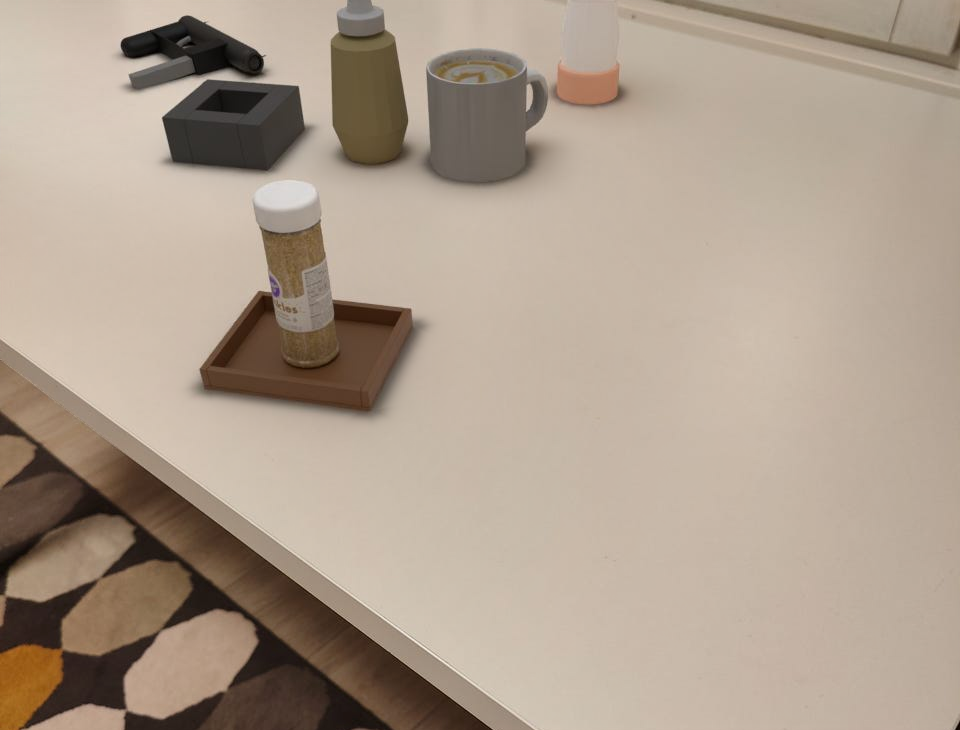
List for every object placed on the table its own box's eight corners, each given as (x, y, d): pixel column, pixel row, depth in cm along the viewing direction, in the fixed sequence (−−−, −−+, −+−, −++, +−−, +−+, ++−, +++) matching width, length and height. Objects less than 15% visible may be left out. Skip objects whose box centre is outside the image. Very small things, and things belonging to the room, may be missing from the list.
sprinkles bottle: (270, 356, 74) (237, 194, 65) (313, 330, 76) (287, 171, 67) (310, 378, 72) (282, 214, 62) (353, 350, 74) (332, 189, 65)
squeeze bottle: (419, 164, 100) (407, -23, 88) (343, 175, 98) (321, -14, 86) (401, 134, 106) (388, -45, 93) (330, 144, 104) (307, -37, 92)
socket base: (172, 163, 101) (161, 117, 98) (216, 123, 109) (207, 79, 105) (267, 172, 99) (259, 125, 96) (305, 130, 107) (298, 85, 103)
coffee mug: (450, 191, 95) (446, 90, 88) (418, 152, 102) (412, 56, 95) (570, 167, 99) (575, 69, 92) (531, 132, 105) (534, 38, 99)
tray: (204, 390, 72) (198, 369, 70) (262, 311, 80) (258, 290, 78) (370, 413, 69) (367, 391, 68) (413, 329, 77) (411, 308, 76)
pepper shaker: (628, 100, 112) (644, -85, 99) (571, 109, 110) (580, -77, 97) (601, 79, 117) (613, -99, 104) (547, 88, 115) (552, -93, 102)
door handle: (152, 84, 111) (270, 45, 118) (86, 42, 123) (197, 8, 129) (160, 112, 114) (276, 72, 120) (95, 68, 125) (204, 33, 132)
